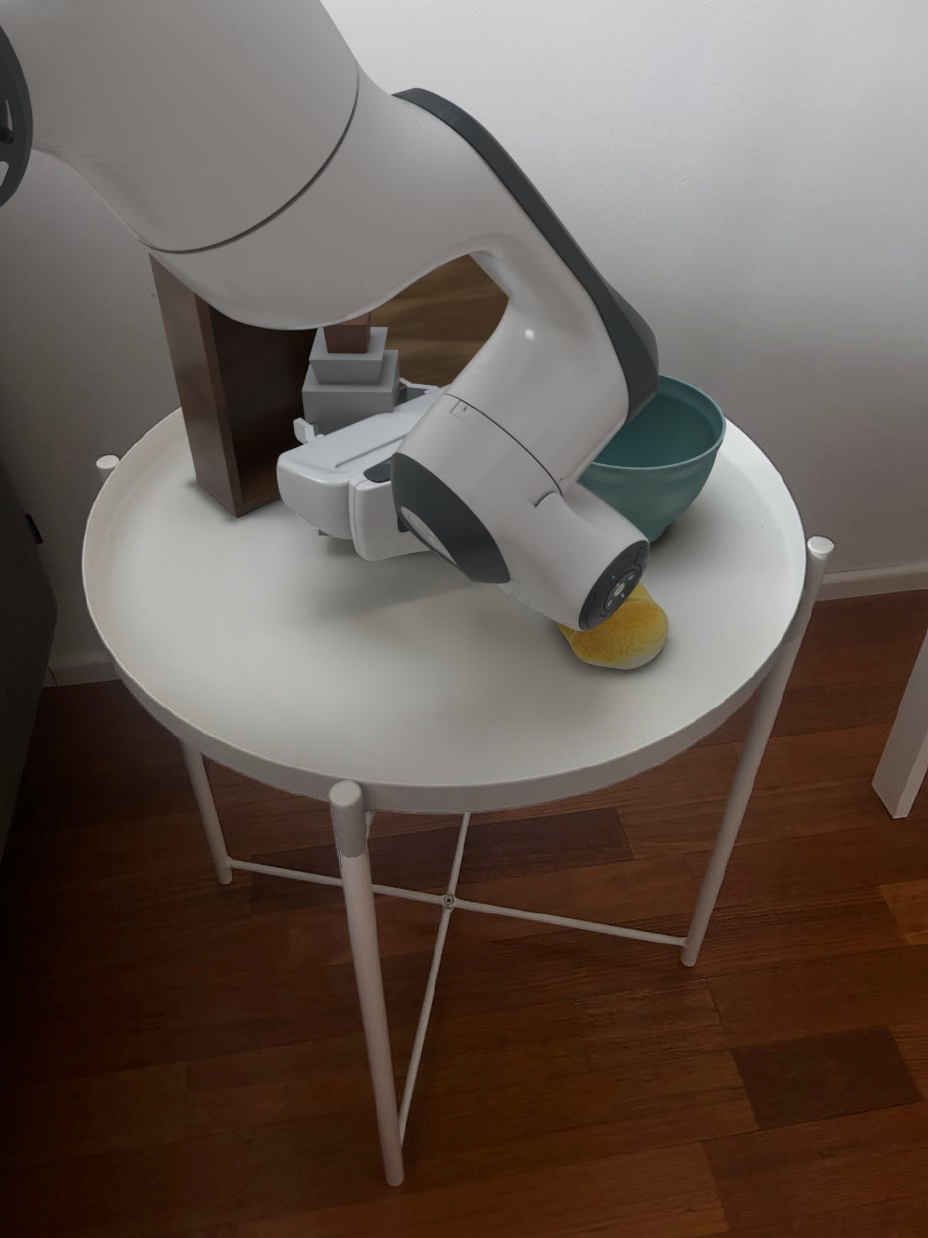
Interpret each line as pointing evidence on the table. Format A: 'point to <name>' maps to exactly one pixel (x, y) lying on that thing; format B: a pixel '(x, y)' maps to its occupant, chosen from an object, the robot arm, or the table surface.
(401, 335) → the cupboard door
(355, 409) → the perfume bottle
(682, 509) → the flower pot
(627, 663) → the bread roll
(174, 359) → the cupboard
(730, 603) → the table surface
